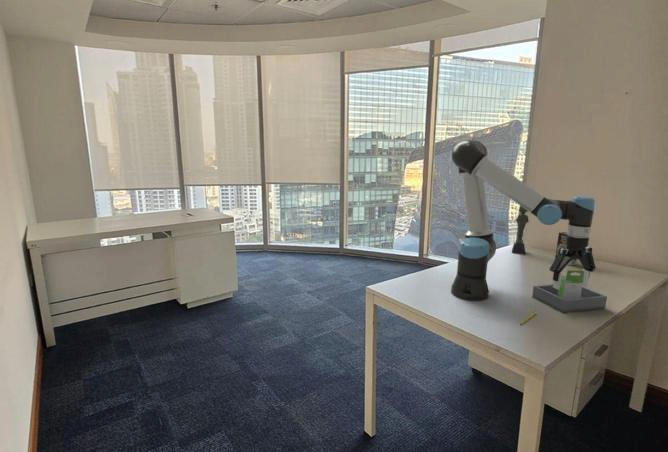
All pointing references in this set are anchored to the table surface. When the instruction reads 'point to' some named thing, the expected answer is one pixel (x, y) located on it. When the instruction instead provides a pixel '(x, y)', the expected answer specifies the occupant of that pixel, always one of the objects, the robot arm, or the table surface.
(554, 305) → the box
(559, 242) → the coffee box
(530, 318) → the pencil
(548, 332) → the table surface
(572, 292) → the ink box
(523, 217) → the statue
